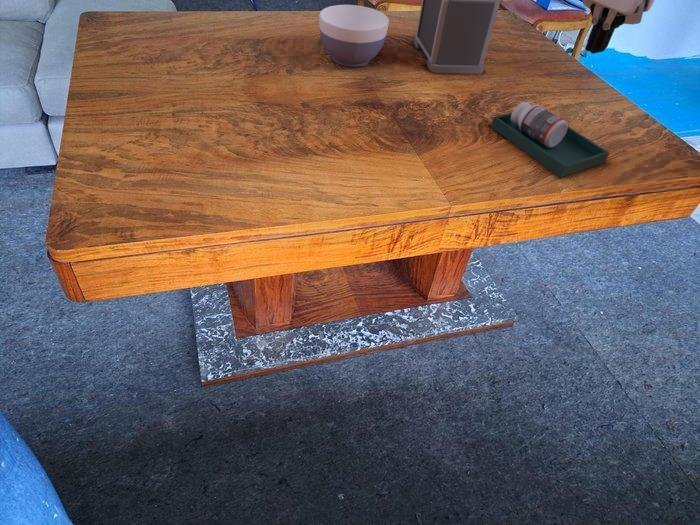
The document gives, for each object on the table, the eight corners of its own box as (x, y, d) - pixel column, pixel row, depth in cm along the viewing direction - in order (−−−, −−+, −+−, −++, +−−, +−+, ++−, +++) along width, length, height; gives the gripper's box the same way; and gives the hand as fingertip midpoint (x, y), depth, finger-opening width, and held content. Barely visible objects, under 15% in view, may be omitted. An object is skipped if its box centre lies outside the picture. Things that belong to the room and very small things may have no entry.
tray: (604, 163, 97) (609, 152, 96) (560, 177, 92) (565, 166, 91) (533, 116, 109) (536, 106, 107) (490, 127, 104) (493, 116, 102)
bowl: (394, 57, 125) (400, 16, 118) (364, 79, 114) (369, 36, 108) (338, 40, 129) (340, -1, 123) (304, 60, 119) (305, 17, 112)
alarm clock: (483, 73, 122) (506, -9, 109) (431, 72, 120) (448, -12, 107) (460, 43, 135) (478, -34, 122) (412, 41, 133) (426, -37, 120)
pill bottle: (552, 152, 100) (515, 129, 105) (572, 128, 98) (533, 105, 104) (543, 143, 95) (504, 119, 101) (563, 117, 94) (523, 94, 99)
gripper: (707, -65, 71) (645, 65, 83) (620, -89, 80) (576, 32, 92) (674, -63, 68) (615, 72, 80) (587, -87, 77) (546, 37, 89)
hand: (594, 50), depth 86 cm, fingers closed
